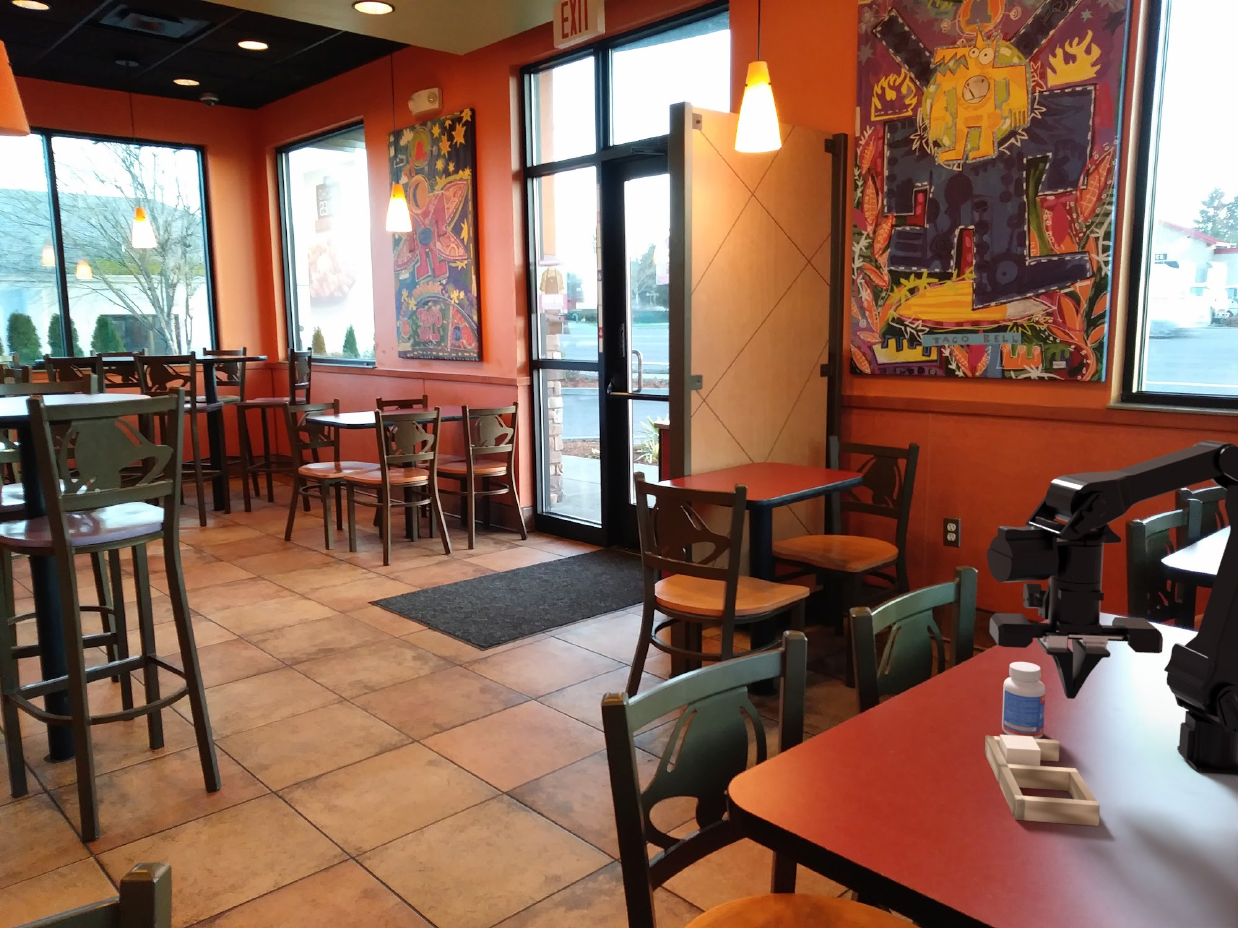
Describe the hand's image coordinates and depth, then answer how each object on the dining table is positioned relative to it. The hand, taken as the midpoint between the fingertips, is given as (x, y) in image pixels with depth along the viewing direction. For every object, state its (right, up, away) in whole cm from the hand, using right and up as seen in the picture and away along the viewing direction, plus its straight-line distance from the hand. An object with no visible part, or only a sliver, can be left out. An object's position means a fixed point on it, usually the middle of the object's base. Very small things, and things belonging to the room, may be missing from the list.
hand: (1069, 697), depth 113 cm
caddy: (-5, -11, -2) cm, 12 cm away
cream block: (-5, -10, +3) cm, 12 cm away
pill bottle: (0, -9, +14) cm, 16 cm away
